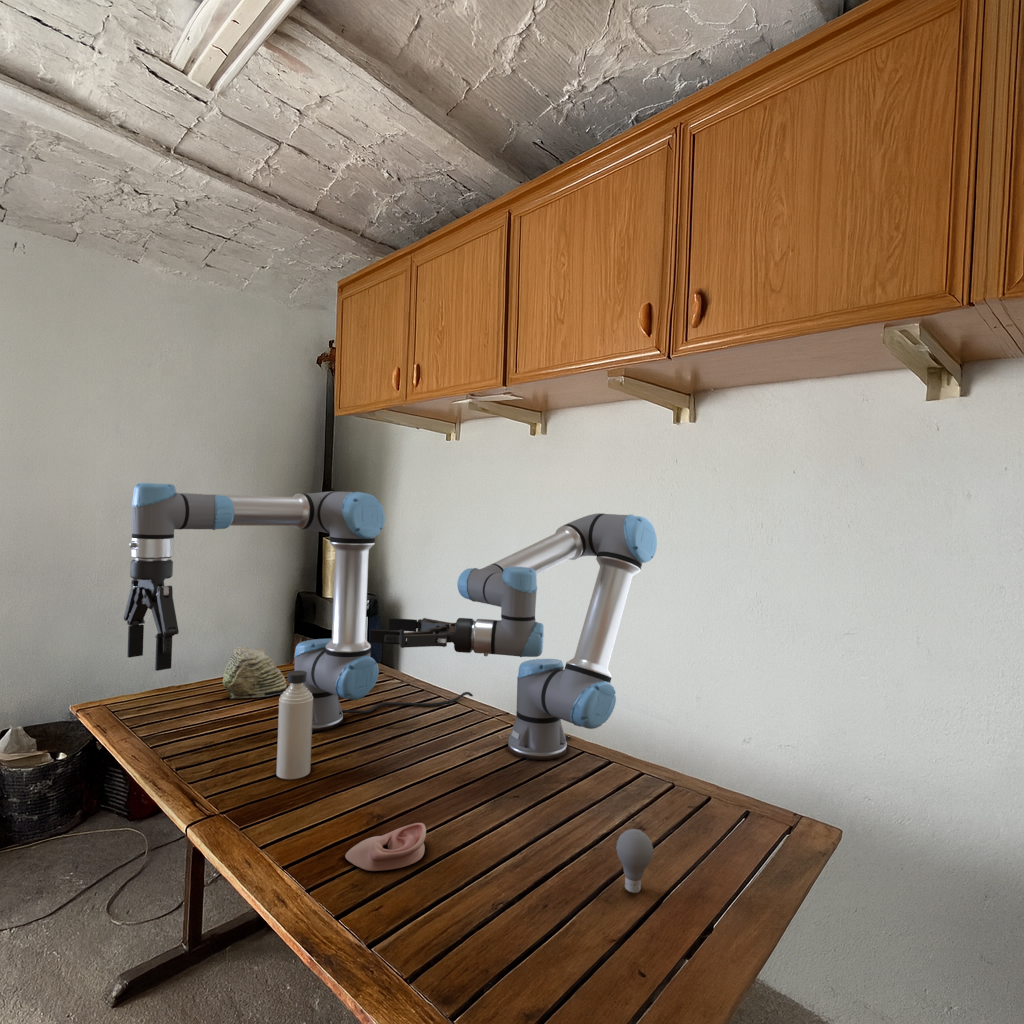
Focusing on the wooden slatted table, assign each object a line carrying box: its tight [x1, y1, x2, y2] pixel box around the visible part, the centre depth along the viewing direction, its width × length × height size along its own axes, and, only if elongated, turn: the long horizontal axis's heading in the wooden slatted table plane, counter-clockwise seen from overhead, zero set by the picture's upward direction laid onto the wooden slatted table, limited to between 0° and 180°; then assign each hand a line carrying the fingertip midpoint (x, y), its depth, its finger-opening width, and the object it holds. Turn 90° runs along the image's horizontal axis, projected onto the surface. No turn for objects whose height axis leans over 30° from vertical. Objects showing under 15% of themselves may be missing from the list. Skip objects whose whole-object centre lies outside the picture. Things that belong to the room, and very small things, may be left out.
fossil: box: [222, 646, 288, 699], centre depth 198 cm, size 9×18×15 cm, turn 132°
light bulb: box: [615, 828, 654, 894], centre depth 106 cm, size 6×6×10 cm
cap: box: [286, 670, 307, 684], centre depth 145 cm, size 4×4×2 cm
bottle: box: [275, 683, 313, 780], centre depth 145 cm, size 7×7×22 cm
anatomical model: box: [344, 822, 427, 872], centre depth 113 cm, size 13×4×12 cm
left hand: (148, 662), depth 129 cm, fingers open, 13 cm apart
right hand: (380, 629), depth 142 cm, fingers open, 13 cm apart
